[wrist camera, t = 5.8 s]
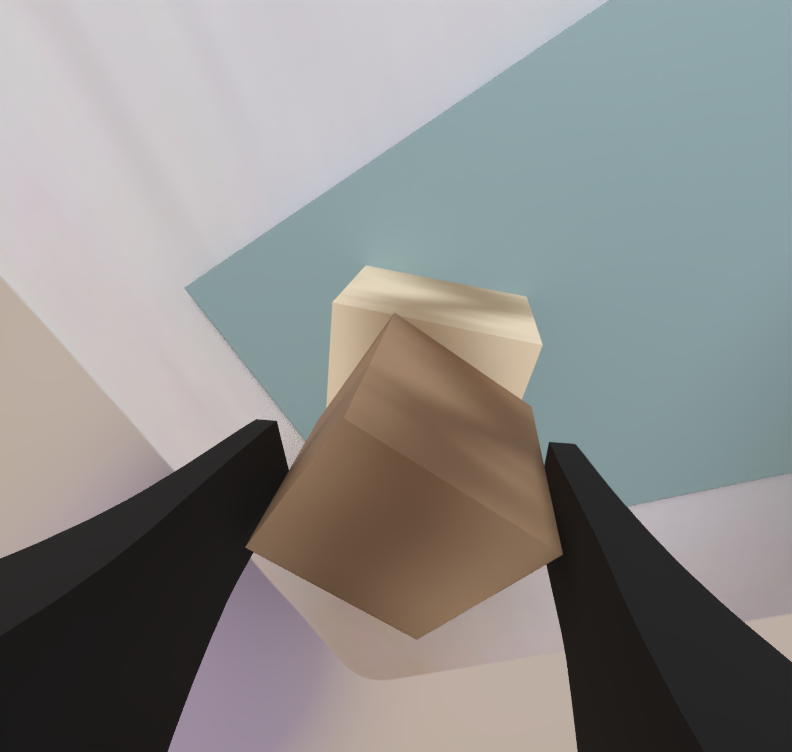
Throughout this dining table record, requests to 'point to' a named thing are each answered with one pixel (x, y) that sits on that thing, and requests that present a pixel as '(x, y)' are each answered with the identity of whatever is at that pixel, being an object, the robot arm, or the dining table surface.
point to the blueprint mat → (581, 242)
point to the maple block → (435, 324)
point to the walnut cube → (414, 489)
